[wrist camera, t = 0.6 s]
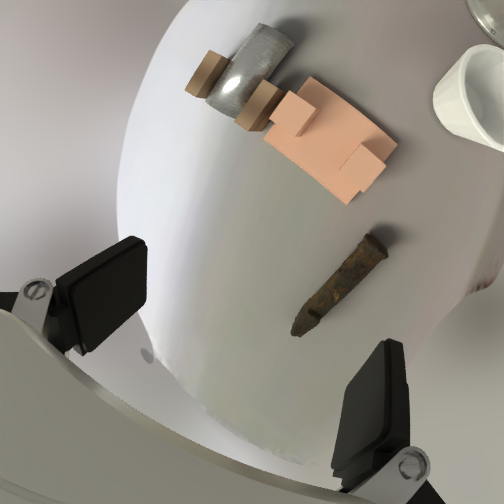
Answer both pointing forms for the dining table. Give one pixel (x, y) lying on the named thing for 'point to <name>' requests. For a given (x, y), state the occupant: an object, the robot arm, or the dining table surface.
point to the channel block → (256, 107)
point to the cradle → (329, 139)
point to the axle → (248, 69)
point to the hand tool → (339, 284)
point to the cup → (474, 96)
